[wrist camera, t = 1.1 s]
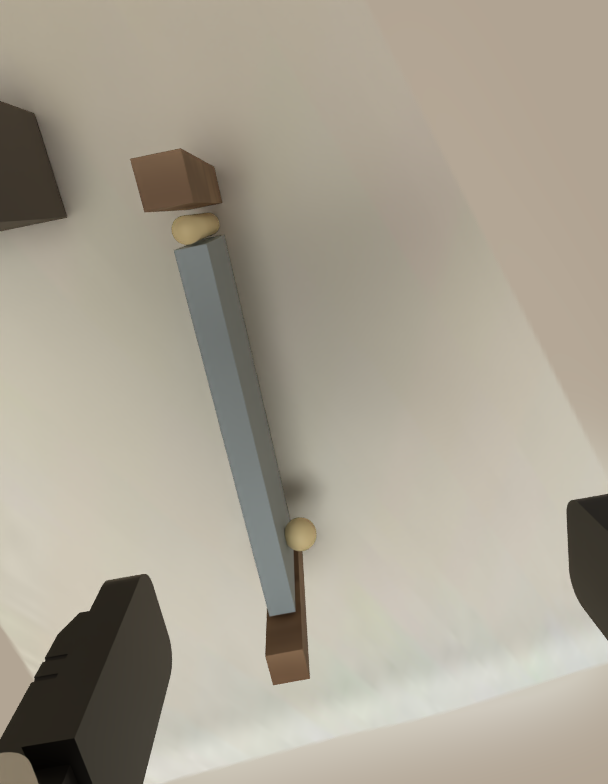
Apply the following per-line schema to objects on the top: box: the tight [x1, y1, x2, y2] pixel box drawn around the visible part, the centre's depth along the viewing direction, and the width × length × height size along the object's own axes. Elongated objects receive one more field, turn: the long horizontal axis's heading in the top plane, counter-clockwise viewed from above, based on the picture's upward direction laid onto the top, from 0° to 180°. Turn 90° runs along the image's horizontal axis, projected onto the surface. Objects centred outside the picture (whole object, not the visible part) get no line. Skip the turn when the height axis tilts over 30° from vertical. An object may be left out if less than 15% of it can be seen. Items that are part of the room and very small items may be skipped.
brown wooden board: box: [130, 148, 310, 685], centre depth 25 cm, size 21×2×9 cm, turn 11°
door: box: [172, 213, 316, 616], centre depth 26 cm, size 18×3×6 cm, turn 11°
